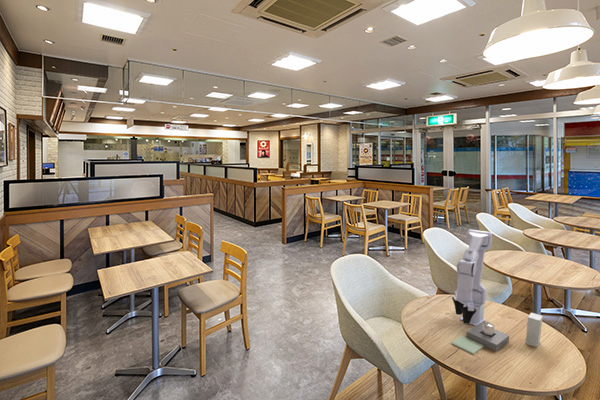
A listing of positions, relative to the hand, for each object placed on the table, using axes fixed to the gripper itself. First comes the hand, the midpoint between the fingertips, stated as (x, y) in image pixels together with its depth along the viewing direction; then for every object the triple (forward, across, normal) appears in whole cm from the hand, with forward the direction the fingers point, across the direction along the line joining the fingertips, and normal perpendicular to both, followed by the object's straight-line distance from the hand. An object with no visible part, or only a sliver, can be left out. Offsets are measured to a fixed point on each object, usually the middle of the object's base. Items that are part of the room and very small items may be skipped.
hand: (462, 318), depth 134 cm
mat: (+10, +4, +1) cm, 10 cm away
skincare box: (+10, -1, +30) cm, 31 cm away
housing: (+10, -1, +11) cm, 15 cm away
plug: (+10, -1, +11) cm, 15 cm away
